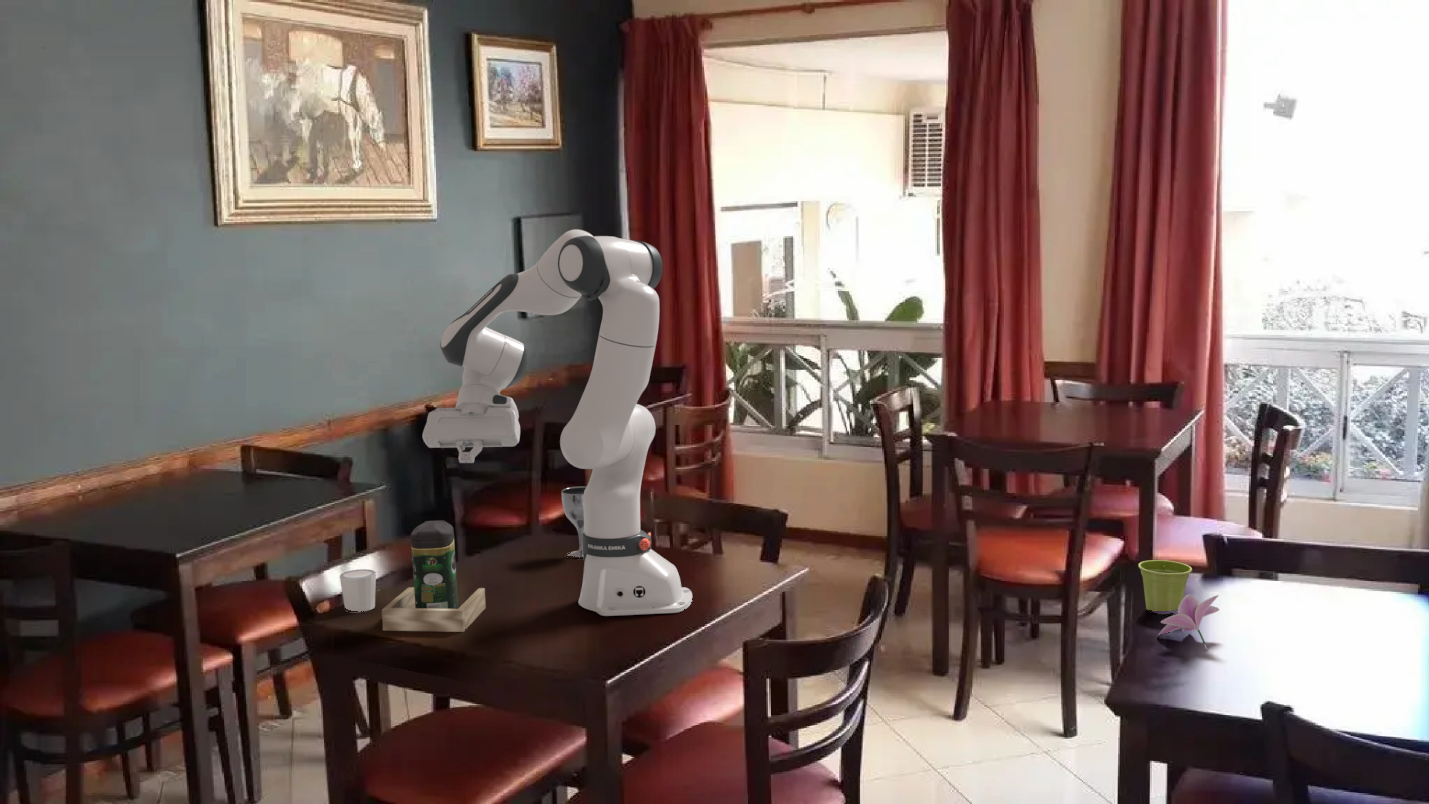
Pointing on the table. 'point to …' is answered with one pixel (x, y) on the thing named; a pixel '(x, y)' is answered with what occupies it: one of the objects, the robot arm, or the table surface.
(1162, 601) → the plant pot
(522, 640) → the table surface
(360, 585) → the white cup
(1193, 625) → the lily
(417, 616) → the bay
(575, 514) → the wine glass
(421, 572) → the coffee jar
